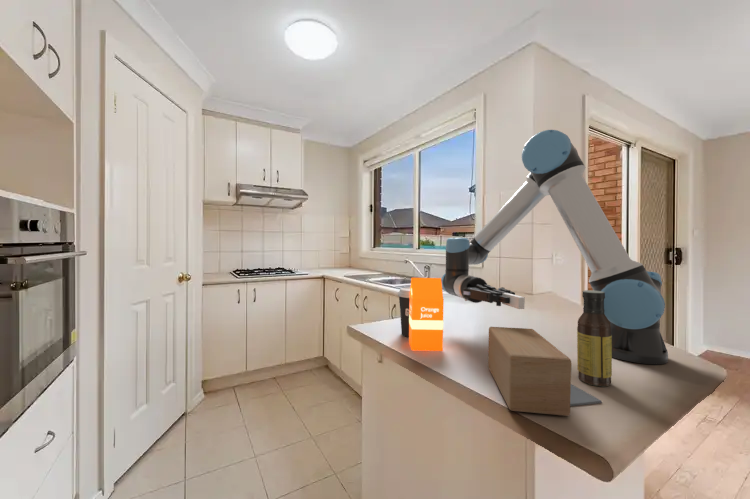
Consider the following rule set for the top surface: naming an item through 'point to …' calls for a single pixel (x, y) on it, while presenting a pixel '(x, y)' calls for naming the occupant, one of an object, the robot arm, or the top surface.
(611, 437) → the top surface
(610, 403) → the top surface
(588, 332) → the sauce bottle
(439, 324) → the orange juice
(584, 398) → the mat
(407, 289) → the coffee cup
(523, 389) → the wooden block
